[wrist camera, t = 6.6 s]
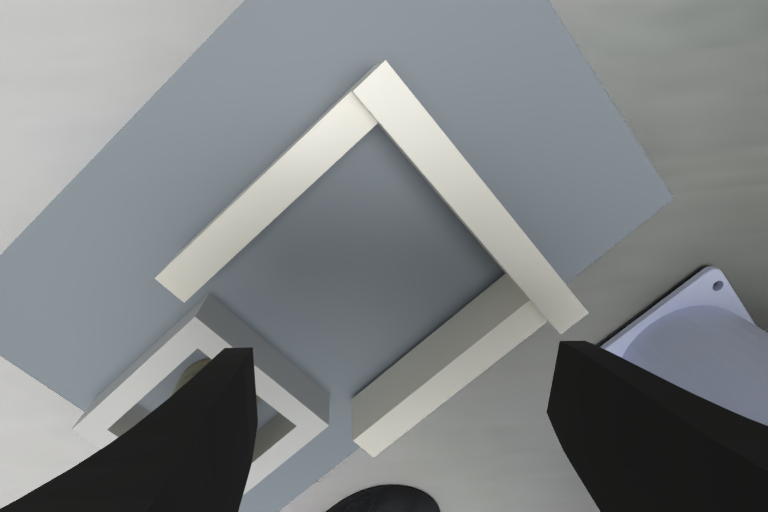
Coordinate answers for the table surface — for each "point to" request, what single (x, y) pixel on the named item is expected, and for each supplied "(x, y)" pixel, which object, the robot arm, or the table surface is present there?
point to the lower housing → (467, 201)
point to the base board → (315, 217)
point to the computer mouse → (387, 501)
